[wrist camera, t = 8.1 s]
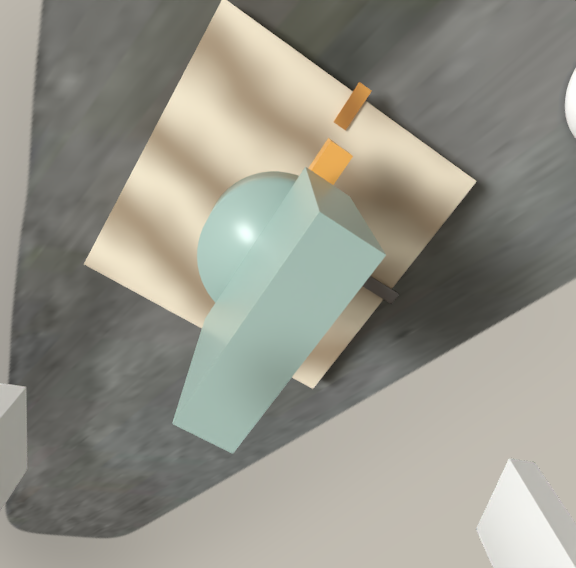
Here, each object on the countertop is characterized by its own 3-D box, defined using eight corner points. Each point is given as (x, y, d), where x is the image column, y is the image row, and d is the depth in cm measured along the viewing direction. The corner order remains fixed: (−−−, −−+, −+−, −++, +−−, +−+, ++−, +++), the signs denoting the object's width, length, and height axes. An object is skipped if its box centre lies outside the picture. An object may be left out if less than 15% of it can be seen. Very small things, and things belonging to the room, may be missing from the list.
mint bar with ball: (174, 270, 33) (107, 391, 20) (277, 102, 29) (276, 118, 16) (285, 334, 35) (289, 481, 22) (396, 184, 31) (479, 258, 18)
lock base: (231, -8, 32) (222, -25, 27) (479, 173, 37) (513, 188, 32) (93, 255, 39) (63, 282, 34) (317, 379, 44) (323, 420, 38)
